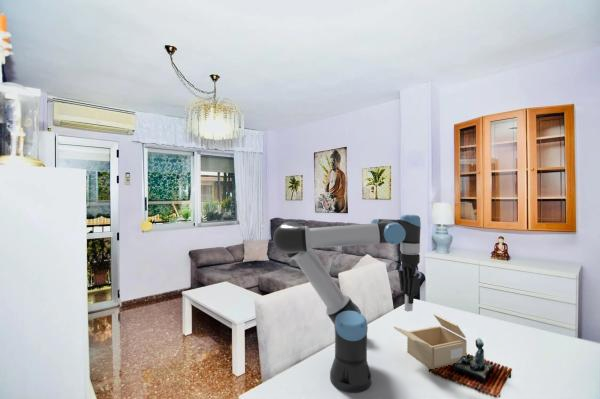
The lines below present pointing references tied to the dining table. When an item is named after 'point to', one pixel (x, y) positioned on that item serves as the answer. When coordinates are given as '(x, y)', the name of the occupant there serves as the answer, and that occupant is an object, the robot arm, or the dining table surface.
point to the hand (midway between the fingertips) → (408, 310)
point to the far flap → (449, 325)
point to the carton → (436, 347)
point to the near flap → (411, 336)
